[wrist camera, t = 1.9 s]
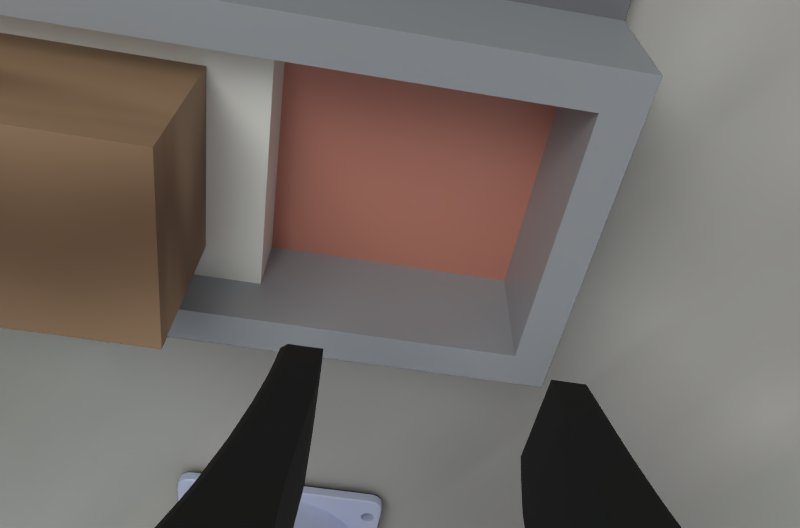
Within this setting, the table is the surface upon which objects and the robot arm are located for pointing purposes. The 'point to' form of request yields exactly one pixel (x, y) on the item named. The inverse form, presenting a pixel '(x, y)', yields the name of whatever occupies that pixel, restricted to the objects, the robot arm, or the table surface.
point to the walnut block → (98, 190)
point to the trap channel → (392, 166)
